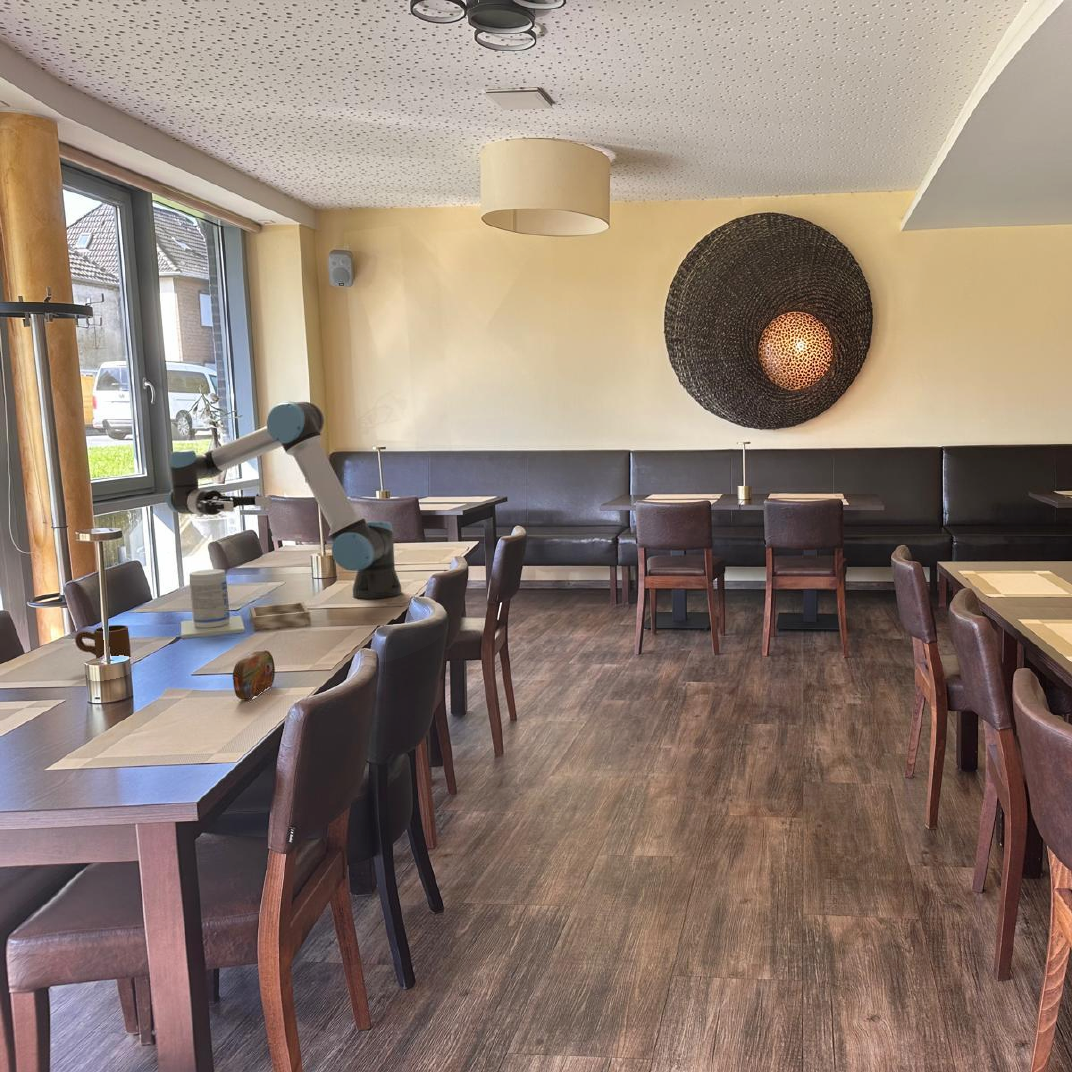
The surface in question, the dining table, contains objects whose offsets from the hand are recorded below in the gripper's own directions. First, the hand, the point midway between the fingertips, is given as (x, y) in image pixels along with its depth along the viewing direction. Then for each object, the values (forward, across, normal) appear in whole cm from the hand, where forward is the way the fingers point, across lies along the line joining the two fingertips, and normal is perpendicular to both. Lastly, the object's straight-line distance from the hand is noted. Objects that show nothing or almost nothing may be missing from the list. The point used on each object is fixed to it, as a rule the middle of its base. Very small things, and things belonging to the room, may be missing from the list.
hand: (251, 504), depth 297 cm
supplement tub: (+7, +22, -31) cm, 38 cm away
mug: (+19, +61, -32) cm, 72 cm away
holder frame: (+17, +7, -32) cm, 37 cm away
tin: (+69, +57, -32) cm, 95 cm away
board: (+7, +22, -32) cm, 39 cm away
